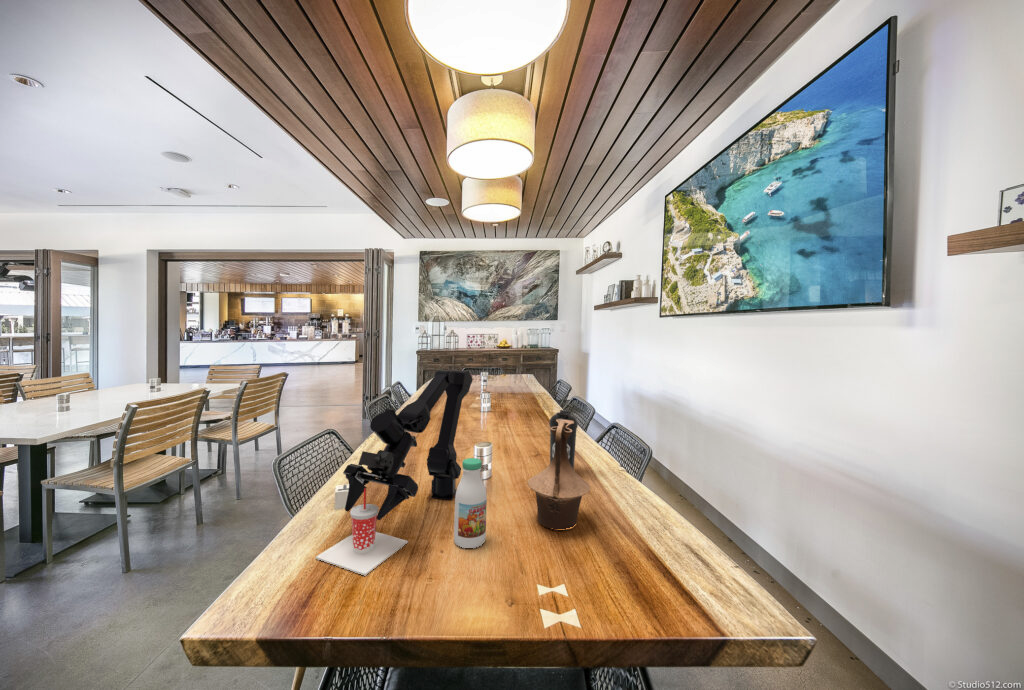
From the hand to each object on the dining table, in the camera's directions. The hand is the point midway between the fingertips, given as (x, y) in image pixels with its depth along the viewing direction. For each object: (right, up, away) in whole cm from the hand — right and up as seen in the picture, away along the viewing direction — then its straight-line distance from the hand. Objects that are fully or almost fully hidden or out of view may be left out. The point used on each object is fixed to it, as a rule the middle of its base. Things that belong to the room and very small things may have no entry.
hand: (361, 515), depth 88 cm
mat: (0, -9, +1) cm, 9 cm away
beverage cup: (0, -8, +1) cm, 8 cm away
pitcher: (+46, -10, +18) cm, 51 cm away
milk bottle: (+24, -10, +7) cm, 27 cm away
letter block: (-14, -8, +24) cm, 29 cm away
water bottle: (+52, -9, +53) cm, 75 cm away
